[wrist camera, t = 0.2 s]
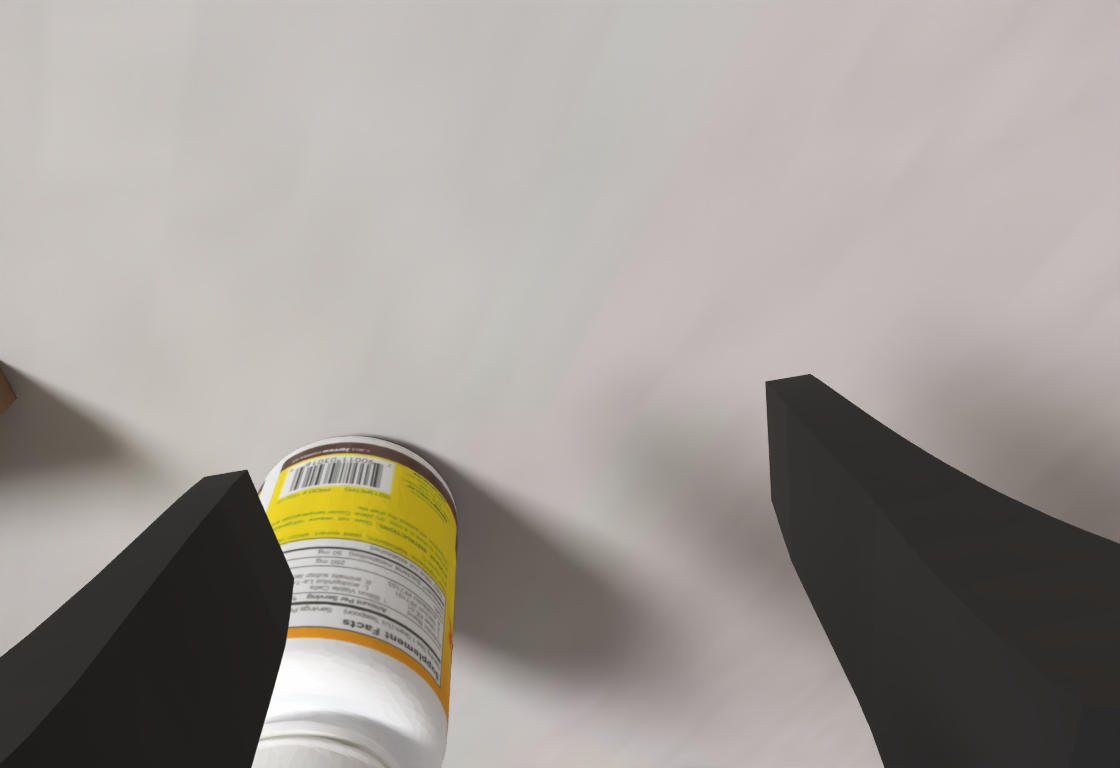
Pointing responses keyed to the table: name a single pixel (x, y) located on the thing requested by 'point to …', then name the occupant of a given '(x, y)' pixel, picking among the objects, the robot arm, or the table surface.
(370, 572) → the supplement bottle
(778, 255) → the table surface
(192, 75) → the table surface
